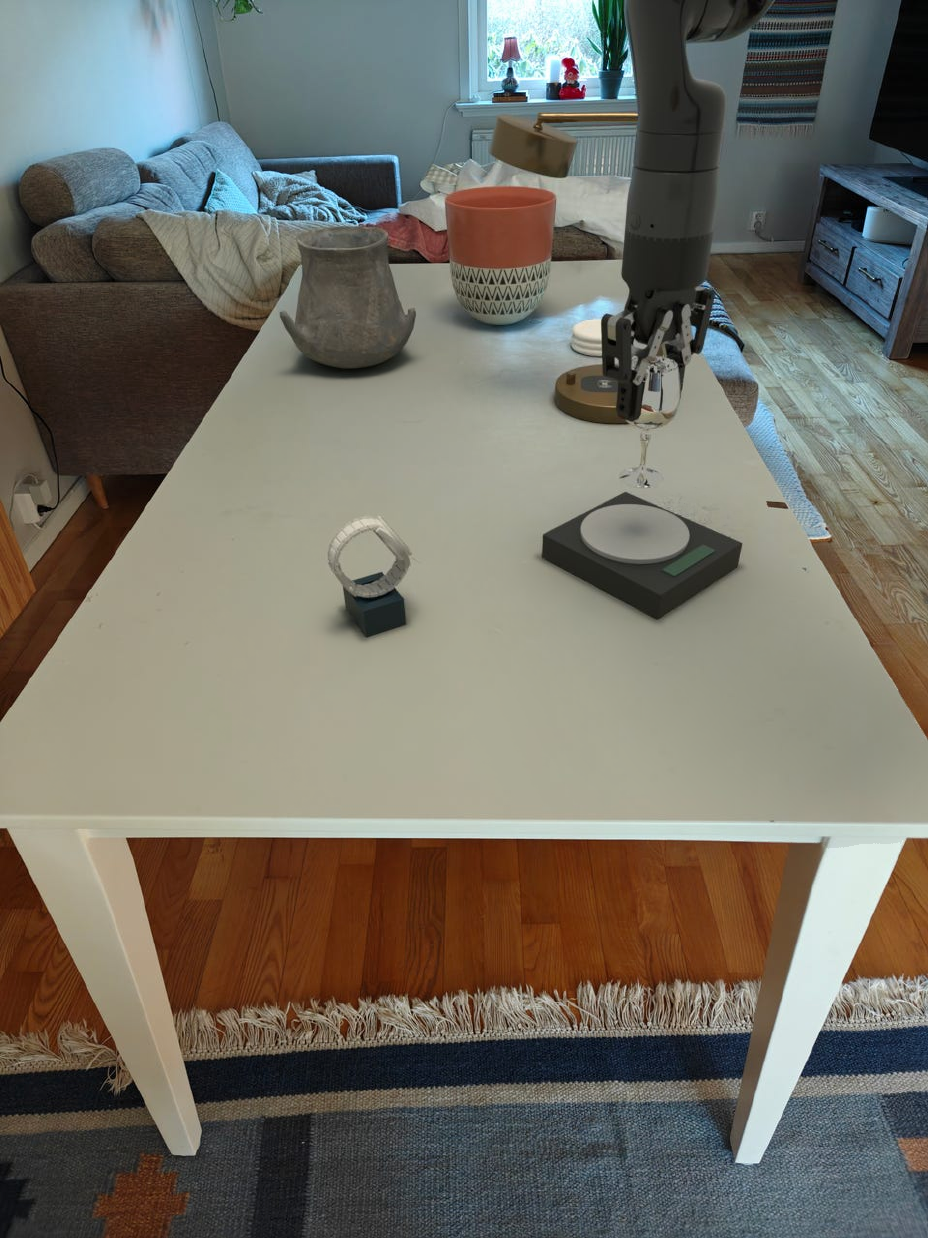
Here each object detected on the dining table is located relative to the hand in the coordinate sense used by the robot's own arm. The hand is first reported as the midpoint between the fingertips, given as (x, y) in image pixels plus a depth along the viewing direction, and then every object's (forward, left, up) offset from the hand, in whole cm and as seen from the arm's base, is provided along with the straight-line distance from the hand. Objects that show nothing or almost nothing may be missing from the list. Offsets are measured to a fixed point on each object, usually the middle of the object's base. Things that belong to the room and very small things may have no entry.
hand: (648, 408), depth 83 cm
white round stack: (+47, -49, -18) cm, 70 cm away
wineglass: (0, 0, -8) cm, 8 cm away
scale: (-1, 0, -17) cm, 17 cm away
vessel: (+74, -16, -18) cm, 78 cm away
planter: (+70, -47, -18) cm, 86 cm away
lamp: (+34, -29, -18) cm, 48 cm away
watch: (+11, +27, -18) cm, 34 cm away
